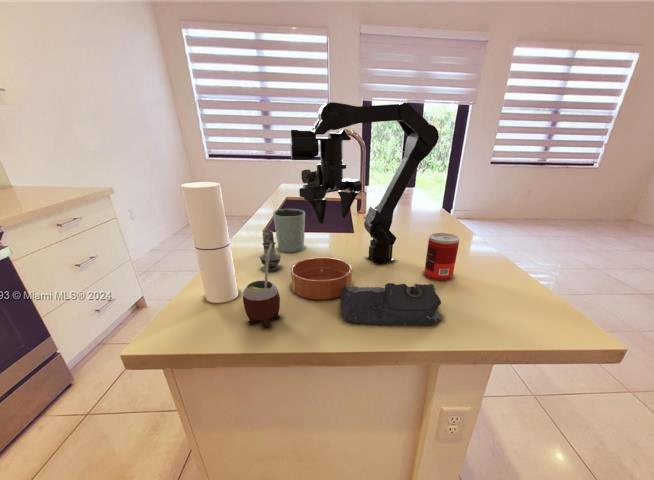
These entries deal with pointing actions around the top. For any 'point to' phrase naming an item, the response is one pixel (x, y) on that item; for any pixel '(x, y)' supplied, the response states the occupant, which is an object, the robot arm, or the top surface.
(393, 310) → the dark slate chunk
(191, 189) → the cylindrical container
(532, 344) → the top surface
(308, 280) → the bowl
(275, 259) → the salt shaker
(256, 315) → the mate gourd
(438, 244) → the canned food
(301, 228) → the green cup
